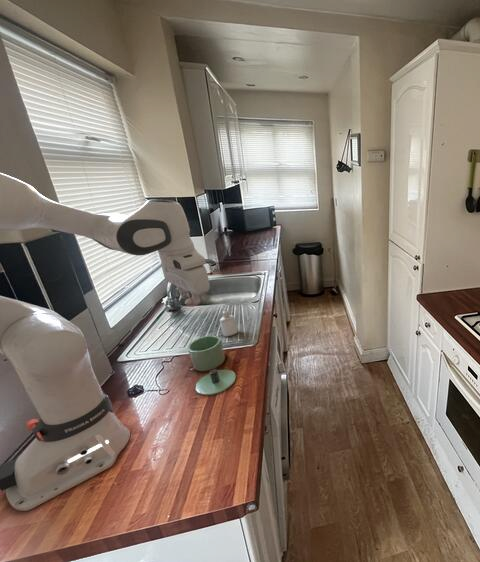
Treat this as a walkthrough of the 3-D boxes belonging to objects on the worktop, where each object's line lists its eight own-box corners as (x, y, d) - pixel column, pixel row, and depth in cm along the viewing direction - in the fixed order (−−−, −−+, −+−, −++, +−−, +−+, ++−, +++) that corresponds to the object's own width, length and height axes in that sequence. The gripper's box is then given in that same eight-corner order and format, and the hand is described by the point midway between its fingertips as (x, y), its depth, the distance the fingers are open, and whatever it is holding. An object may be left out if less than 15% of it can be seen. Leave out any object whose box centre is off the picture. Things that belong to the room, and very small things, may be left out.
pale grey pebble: (190, 309, 91) (188, 301, 90) (181, 306, 93) (178, 298, 92) (204, 303, 94) (202, 296, 93) (194, 300, 97) (192, 293, 96)
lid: (209, 402, 94) (205, 389, 92) (188, 387, 100) (184, 375, 98) (243, 380, 103) (240, 367, 101) (223, 367, 109) (220, 356, 107)
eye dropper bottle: (235, 336, 129) (230, 310, 124) (222, 337, 128) (215, 311, 124) (238, 330, 133) (233, 305, 128) (225, 331, 132) (219, 306, 128)
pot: (203, 375, 105) (197, 355, 102) (188, 365, 111) (181, 346, 108) (231, 360, 113) (226, 340, 110) (215, 351, 119) (210, 332, 115)
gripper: (150, 254, 91) (164, 296, 96) (184, 265, 80) (197, 312, 85) (173, 248, 96) (185, 289, 101) (208, 259, 85) (219, 303, 90)
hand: (191, 300), depth 93 cm, fingers closed on pale grey pebble, 5 cm apart
